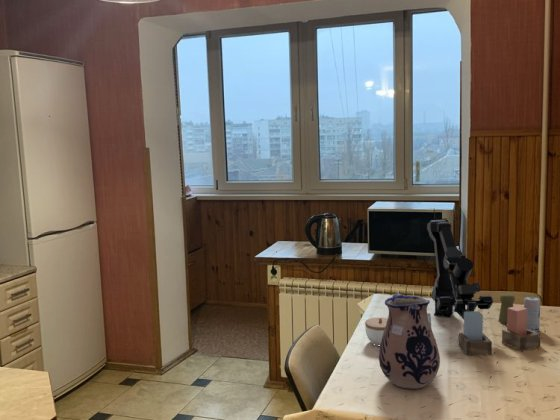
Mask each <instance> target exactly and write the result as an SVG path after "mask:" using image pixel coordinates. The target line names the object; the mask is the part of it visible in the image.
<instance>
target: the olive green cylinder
mask: <svg viewBox="0 0 560 420" xmlns="http://www.w3.org/2000/svg"><path fill="white" fill-rule="evenodd" d="M515 298H516V297H515V296H514V295H513V294H511V293H502V294H500V297H499V300H500V302H501V303H500V310H499V317H498V322H499V323H500V324H502V325H507V308H510V307H514V303H515Z"/></svg>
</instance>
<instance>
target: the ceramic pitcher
mask: <svg viewBox="0 0 560 420" xmlns="http://www.w3.org/2000/svg"><path fill="white" fill-rule="evenodd" d="M430 303H431V301H430V300H429V299H426V298H424V297H421V296H415V295H413V296H411V295H404V294H402V293H400V292H396V293H394V294H393V295H392V296H391V297H388V298H387V299H385V301H384V305H385V306H386V307H387V308H388V315H387V318H388V320H387V323H386V327H385V330H384V333H383V335H382V340H381V344H380V346H379V350H378V351H379V352H378V361H379V362H378V363H379V367H380V369H381V371H382V373H383V374H384V377H385V378H386V379H387V380H389V382H391V383H392V384H393V385H395V386H396V387H400V388H402V389H410V390H411V389H413V390H415V389H416V390H417V389H422V388H424V387H426V386H428V384H430V383H431V382H432V381H433V380H434V379H435V378H436V376H437V373H438V372H439V369H440V365H441V357H440V351H439V348H438V344H437V341H436V338H435V335H434V332H433V329H432V325H431V326H430V323H429V320H428V316H427V312H428V306H429V304H430Z"/></svg>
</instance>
